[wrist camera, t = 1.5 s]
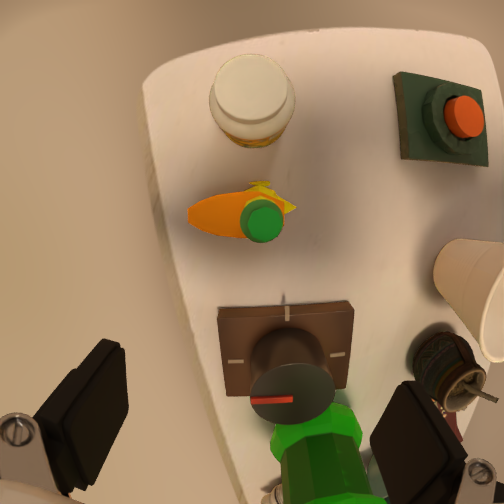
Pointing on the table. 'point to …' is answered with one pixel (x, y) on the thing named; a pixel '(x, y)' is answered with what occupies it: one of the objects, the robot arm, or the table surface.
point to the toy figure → (242, 213)
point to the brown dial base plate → (278, 317)
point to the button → (464, 117)
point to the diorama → (450, 420)
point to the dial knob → (290, 377)
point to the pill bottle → (274, 496)
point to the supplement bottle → (252, 100)
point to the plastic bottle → (323, 460)
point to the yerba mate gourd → (449, 371)
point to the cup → (475, 290)
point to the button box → (435, 121)
